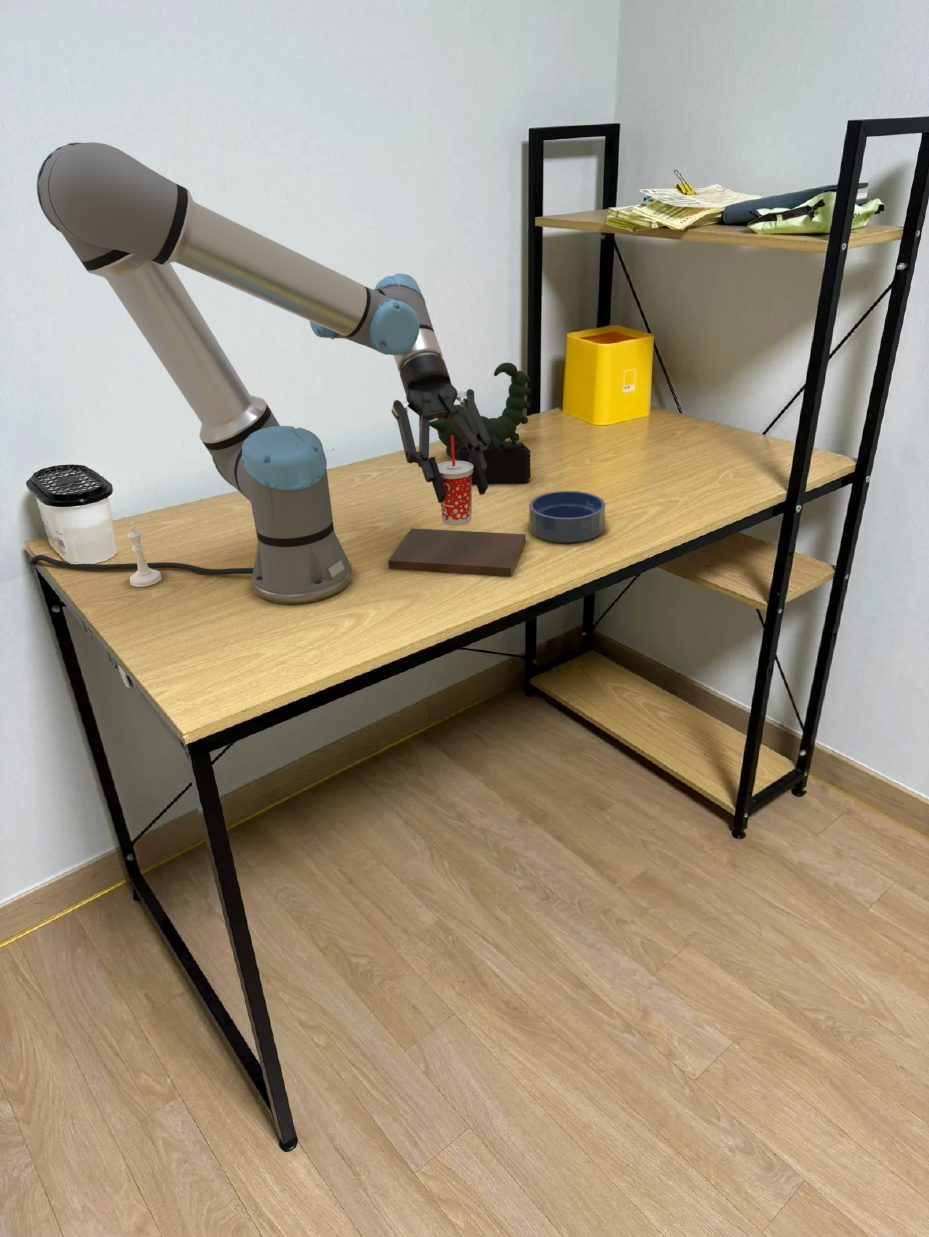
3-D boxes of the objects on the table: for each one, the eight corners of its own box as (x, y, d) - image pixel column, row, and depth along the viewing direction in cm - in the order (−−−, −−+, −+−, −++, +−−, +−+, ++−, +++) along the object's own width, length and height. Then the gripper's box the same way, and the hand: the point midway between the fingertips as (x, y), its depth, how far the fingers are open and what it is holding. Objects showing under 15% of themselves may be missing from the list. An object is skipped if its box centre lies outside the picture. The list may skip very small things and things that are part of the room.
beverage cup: (433, 517, 142) (427, 433, 135) (468, 510, 144) (464, 427, 137) (444, 530, 137) (439, 444, 130) (481, 524, 138) (477, 438, 132)
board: (388, 568, 140) (387, 560, 139) (411, 536, 151) (411, 528, 150) (511, 576, 135) (511, 567, 135) (525, 542, 146) (525, 534, 146)
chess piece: (129, 589, 138) (114, 530, 133) (130, 576, 142) (115, 519, 137) (161, 583, 139) (147, 526, 134) (162, 571, 143) (148, 514, 138)
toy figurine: (509, 442, 198) (415, 457, 185) (513, 357, 190) (416, 366, 177) (535, 452, 192) (440, 468, 178) (540, 364, 183) (441, 374, 170)
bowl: (523, 542, 146) (523, 517, 144) (536, 512, 157) (536, 489, 155) (600, 546, 144) (601, 520, 141) (607, 516, 154) (608, 492, 152)
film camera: (532, 468, 178) (531, 424, 174) (530, 484, 170) (529, 440, 165) (458, 469, 180) (455, 426, 175) (453, 485, 171) (450, 441, 167)
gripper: (471, 371, 146) (513, 494, 141) (361, 387, 140) (400, 516, 135) (482, 344, 139) (527, 473, 134) (366, 360, 133) (408, 495, 128)
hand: (463, 494), depth 134 cm, fingers closed on beverage cup, 6 cm apart
